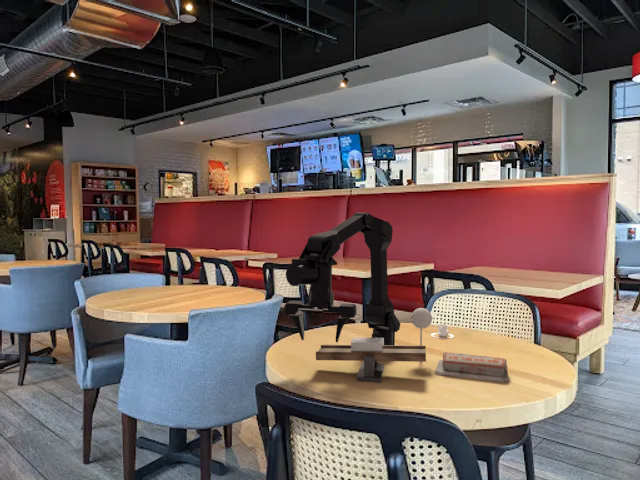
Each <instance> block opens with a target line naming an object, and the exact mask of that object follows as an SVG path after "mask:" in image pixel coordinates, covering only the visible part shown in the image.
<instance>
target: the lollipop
mask: <svg viewBox="0 0 640 480" xmlns="http://www.w3.org/2000/svg"><path fill="white" fill-rule="evenodd" d="M410 320H411V323H412V325H413V326H414V327H416V328H417V329H420V331H419V332H420V333H419V334H420V335H419V337H420V338H419V340H420V341H419V346H423V345H422V343H423V329H426V328H428V327H430V325H431V324H432V321H433V315H432V313H431V312H430V310H428V309H427V308H423V307H418V308H416V309H415V310H414V311H412V313H411V315H410Z"/></svg>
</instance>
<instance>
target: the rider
mask: <svg viewBox="0 0 640 480" xmlns="http://www.w3.org/2000/svg"><path fill="white" fill-rule="evenodd" d="M350 345H351V352H383V351H384V338H372V337H353V338H352V339H351V341H350Z"/></svg>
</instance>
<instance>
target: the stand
mask: <svg viewBox="0 0 640 480" xmlns="http://www.w3.org/2000/svg"><path fill="white" fill-rule="evenodd" d="M384 369H385V363H383V362H382V363H381V362H379V361H374V356H368V355H365V356H364V361H362V362H361V365H360V367H359V370H358V372H357V375H356V382H367V383H381V381H382V378H383V374H384Z"/></svg>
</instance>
